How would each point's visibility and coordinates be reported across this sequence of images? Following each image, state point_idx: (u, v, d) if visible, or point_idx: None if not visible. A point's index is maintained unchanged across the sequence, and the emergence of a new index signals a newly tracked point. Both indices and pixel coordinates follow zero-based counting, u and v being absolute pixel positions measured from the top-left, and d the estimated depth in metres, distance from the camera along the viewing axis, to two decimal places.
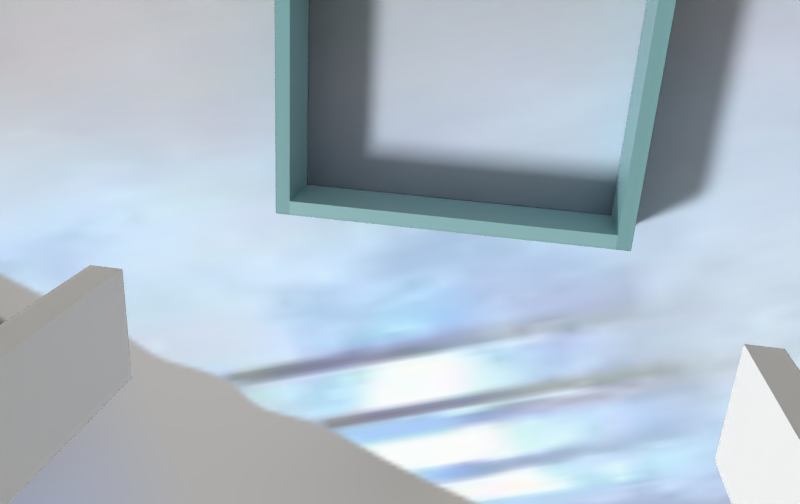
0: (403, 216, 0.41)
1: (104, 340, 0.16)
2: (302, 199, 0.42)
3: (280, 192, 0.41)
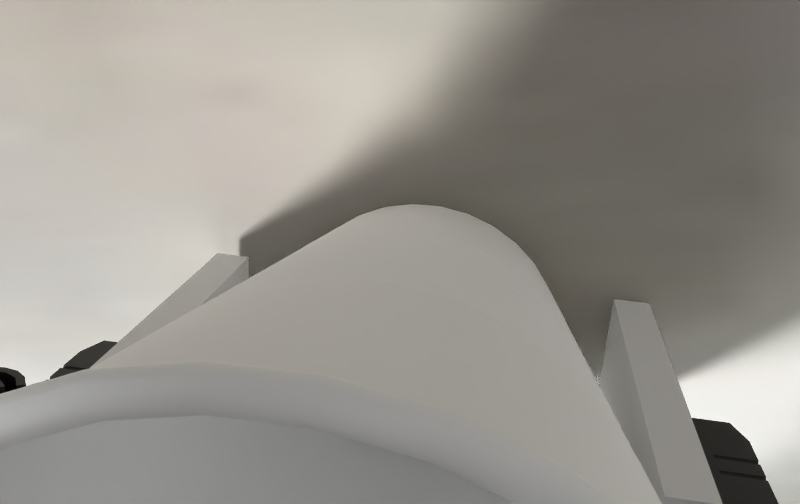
0: None
1: None
2: None
3: None
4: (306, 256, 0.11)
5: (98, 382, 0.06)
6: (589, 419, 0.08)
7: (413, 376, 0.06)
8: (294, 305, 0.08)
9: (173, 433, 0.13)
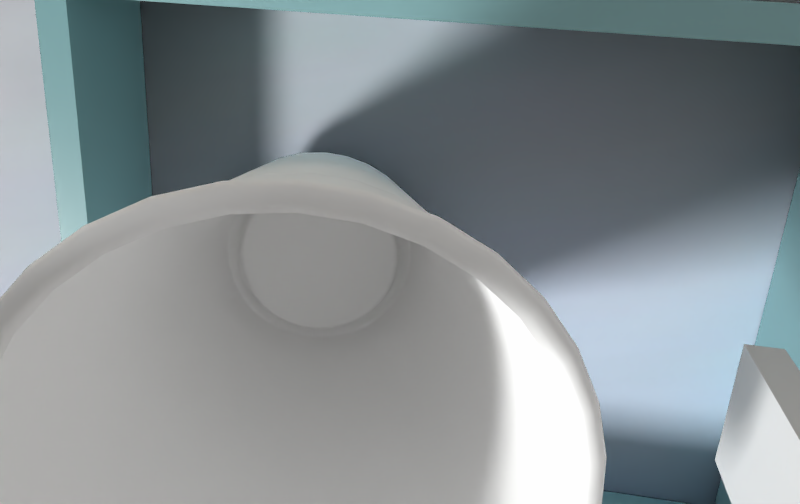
0: None
1: None
2: None
3: None
4: None
5: (162, 200, 0.09)
6: None
7: None
8: None
9: (140, 336, 0.16)
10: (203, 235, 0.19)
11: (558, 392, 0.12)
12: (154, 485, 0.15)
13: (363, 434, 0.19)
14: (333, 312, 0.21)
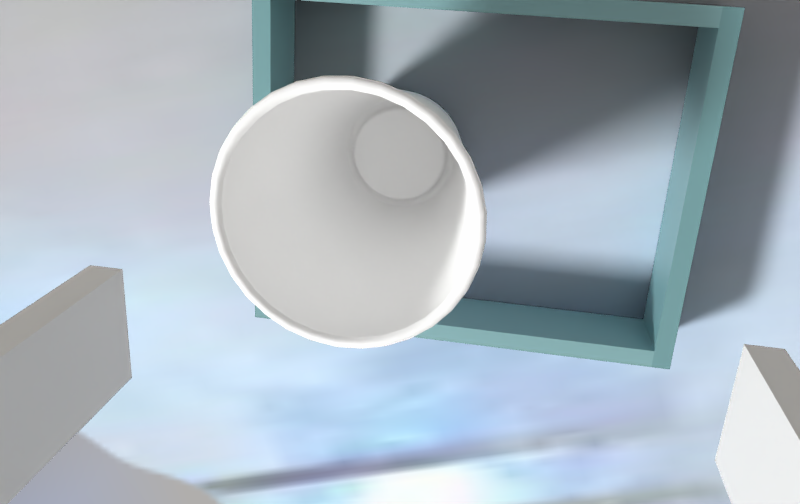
0: None
1: (104, 340, 0.16)
2: None
3: None
4: None
5: (301, 82, 0.24)
6: None
7: None
8: None
9: (293, 175, 0.31)
10: (331, 132, 0.34)
11: None
12: (293, 247, 0.30)
13: (409, 248, 0.33)
14: (405, 189, 0.36)
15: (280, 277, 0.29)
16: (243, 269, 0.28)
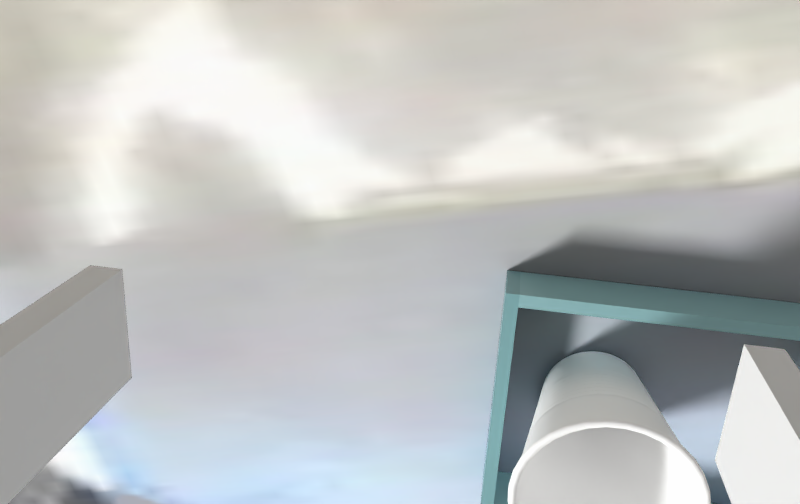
0: None
1: (104, 340, 0.16)
2: (503, 500, 0.48)
3: (485, 497, 0.47)
4: (581, 382, 0.41)
5: (589, 422, 0.36)
6: (664, 425, 0.38)
7: (635, 419, 0.36)
8: (601, 403, 0.38)
9: None
10: None
11: (697, 483, 0.37)
12: (539, 489, 0.42)
13: (611, 478, 0.44)
14: None
15: None
16: None
